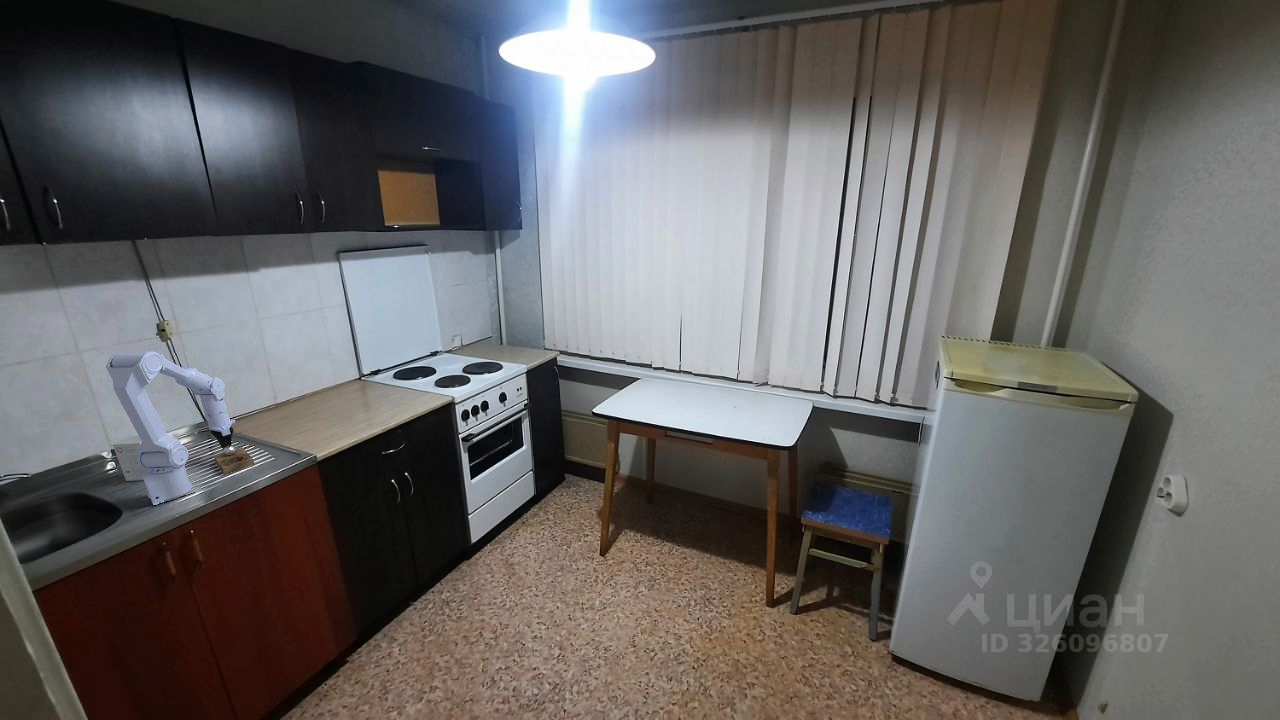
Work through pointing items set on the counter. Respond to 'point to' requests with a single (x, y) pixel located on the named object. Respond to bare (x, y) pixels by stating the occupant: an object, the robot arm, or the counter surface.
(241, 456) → the hole plate
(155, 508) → the counter surface
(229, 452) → the steel ball
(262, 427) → the counter surface
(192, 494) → the counter surface
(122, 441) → the small box
